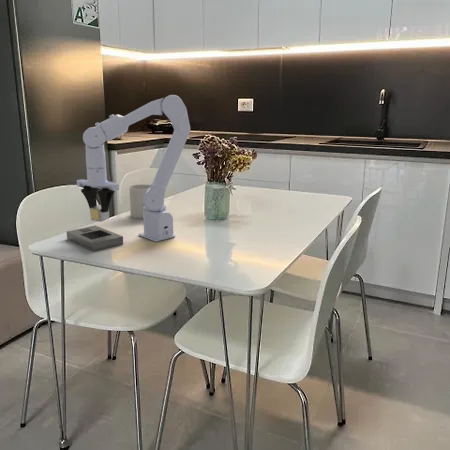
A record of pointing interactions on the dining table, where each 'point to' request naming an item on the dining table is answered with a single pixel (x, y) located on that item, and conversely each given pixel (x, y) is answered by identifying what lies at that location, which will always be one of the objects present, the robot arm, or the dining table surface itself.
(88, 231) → the grey recessed tray
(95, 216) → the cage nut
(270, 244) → the dining table surface
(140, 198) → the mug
